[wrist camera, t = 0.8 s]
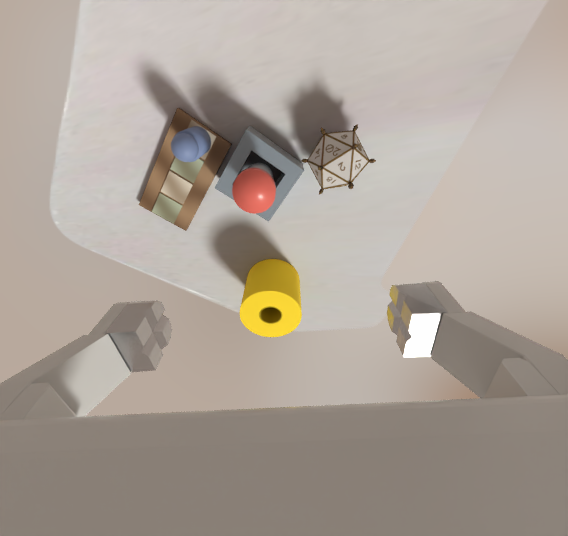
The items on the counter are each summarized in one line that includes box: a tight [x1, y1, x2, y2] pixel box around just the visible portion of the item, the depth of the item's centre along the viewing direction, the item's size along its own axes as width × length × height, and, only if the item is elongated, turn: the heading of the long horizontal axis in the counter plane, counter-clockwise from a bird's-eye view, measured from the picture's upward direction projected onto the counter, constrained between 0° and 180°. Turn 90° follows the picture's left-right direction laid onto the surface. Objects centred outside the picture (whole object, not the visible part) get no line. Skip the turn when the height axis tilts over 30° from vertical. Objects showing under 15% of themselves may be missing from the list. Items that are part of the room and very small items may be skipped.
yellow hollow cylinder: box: [240, 259, 302, 337], centre depth 48 cm, size 10×10×9 cm
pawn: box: [171, 126, 211, 162], centre depth 35 cm, size 4×4×7 cm
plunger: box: [232, 163, 276, 213], centre depth 36 cm, size 5×5×7 cm
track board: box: [139, 108, 232, 231], centre depth 41 cm, size 16×8×1 cm, turn 146°
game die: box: [302, 124, 376, 195], centre depth 37 cm, size 9×8×10 cm
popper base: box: [215, 126, 304, 221], centre depth 40 cm, size 9×9×4 cm
